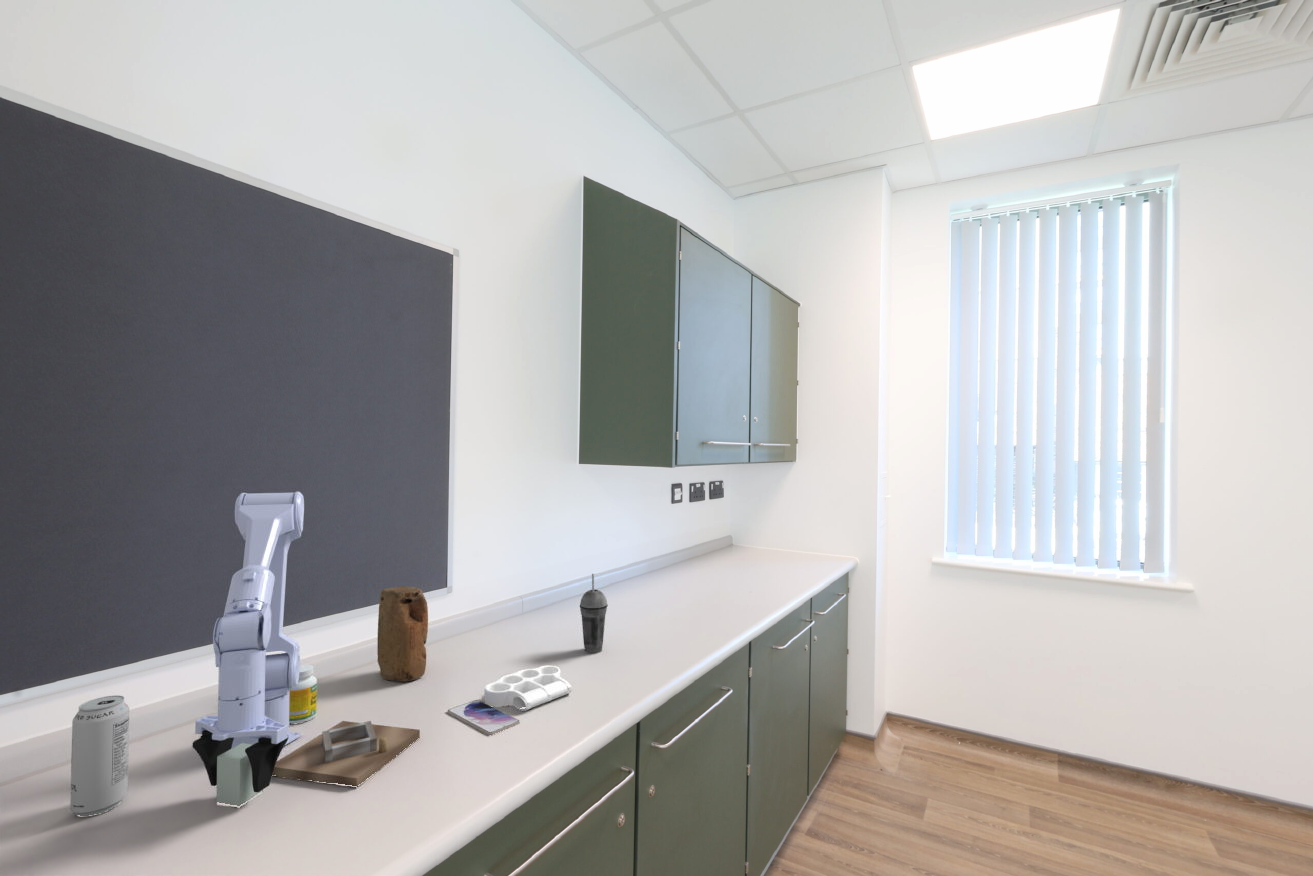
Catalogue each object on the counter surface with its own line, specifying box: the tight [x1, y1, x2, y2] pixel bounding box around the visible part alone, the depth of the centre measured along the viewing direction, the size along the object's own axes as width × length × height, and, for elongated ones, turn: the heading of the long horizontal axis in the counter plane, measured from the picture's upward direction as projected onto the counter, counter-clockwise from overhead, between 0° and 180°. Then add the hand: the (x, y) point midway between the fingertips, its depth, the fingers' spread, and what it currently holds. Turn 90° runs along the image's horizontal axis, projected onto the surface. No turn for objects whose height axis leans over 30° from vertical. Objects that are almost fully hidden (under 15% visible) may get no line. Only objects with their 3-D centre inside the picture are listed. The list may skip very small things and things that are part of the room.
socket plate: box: [272, 720, 421, 786], centre depth 100 cm, size 16×16×4 cm
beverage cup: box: [579, 573, 608, 654], centre depth 152 cm, size 7×7×20 cm
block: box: [376, 585, 429, 683], centre depth 135 cm, size 11×8×20 cm
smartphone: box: [446, 699, 521, 736], centre depth 114 cm, size 7×1×15 cm
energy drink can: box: [69, 695, 130, 816], centre depth 85 cm, size 6×6×15 cm
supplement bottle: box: [289, 664, 318, 725], centre depth 113 cm, size 5×5×10 cm
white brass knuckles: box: [483, 665, 573, 712], centre depth 125 cm, size 3×18×15 cm
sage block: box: [215, 743, 264, 806], centre depth 87 cm, size 4×4×7 cm
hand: (240, 785), depth 87 cm, fingers open, 7 cm apart
